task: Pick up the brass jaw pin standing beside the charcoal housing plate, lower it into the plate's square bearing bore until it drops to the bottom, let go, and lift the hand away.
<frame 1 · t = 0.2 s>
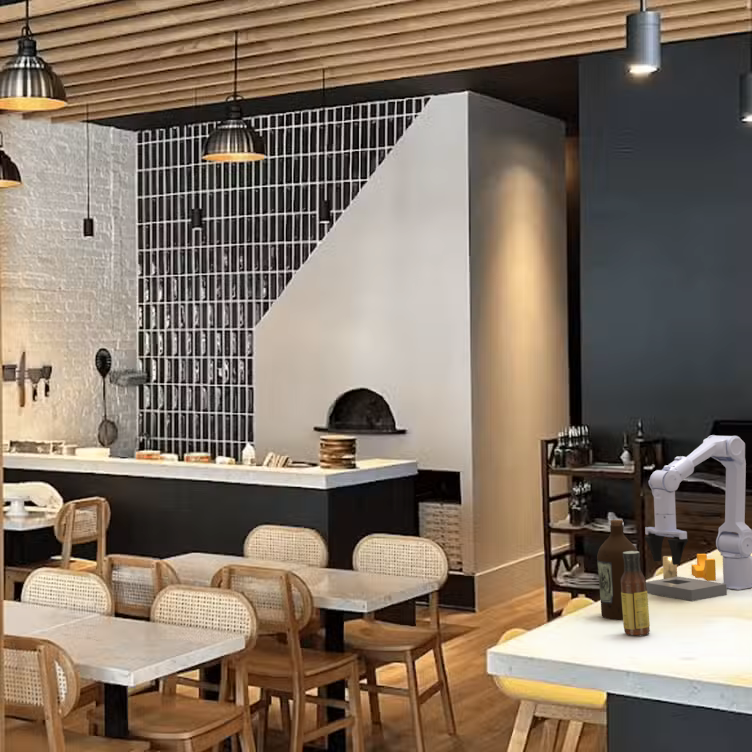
hand: (666, 562, 346), 10 cm above the counter, tool pointing down, fingers open, 7 cm apart
housing: (684, 593, 353), on the counter
olive oil: (619, 617, 324), on the counter
sauce bottle: (636, 634, 302), on the counter
jaw pin: (670, 583, 369), on the counter
pipe clamp: (703, 578, 378), on the counter
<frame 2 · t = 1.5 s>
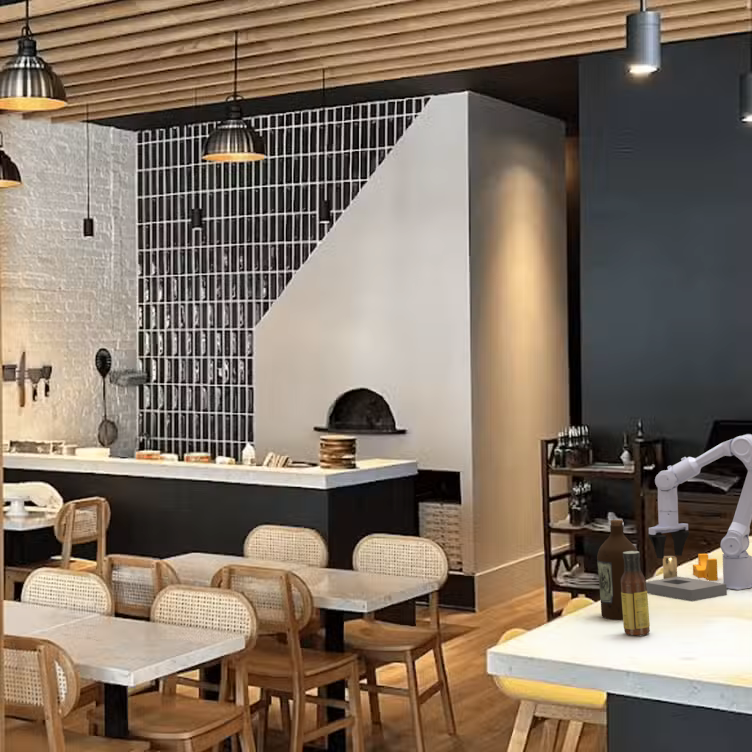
hand: (669, 556, 369), 8 cm above the counter, tool pointing down, fingers open, 7 cm apart
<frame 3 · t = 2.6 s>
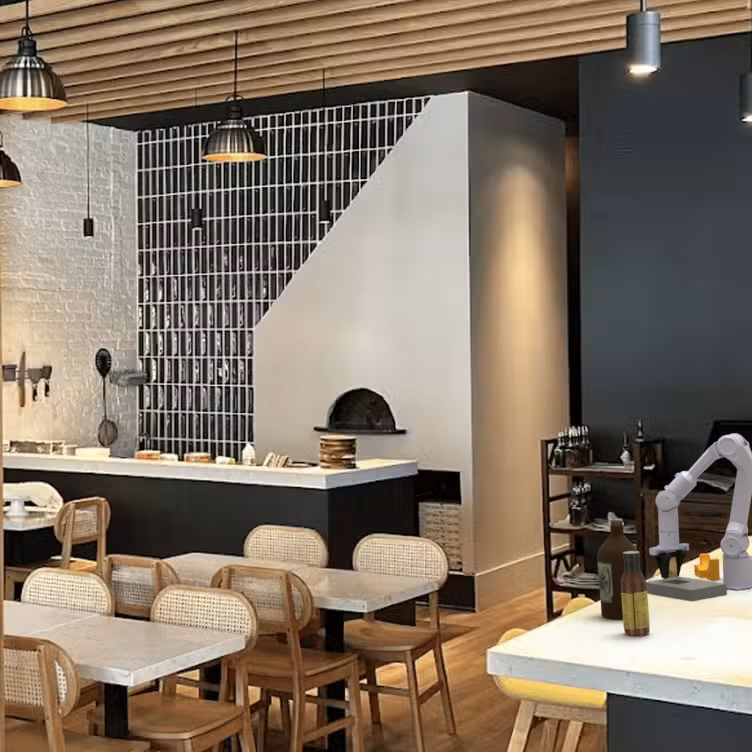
hand: (670, 577, 369), 2 cm above the counter, tool pointing down, fingers closed on jaw pin, 4 cm apart
jaw pin: (670, 583, 369), on the counter, touching gripper
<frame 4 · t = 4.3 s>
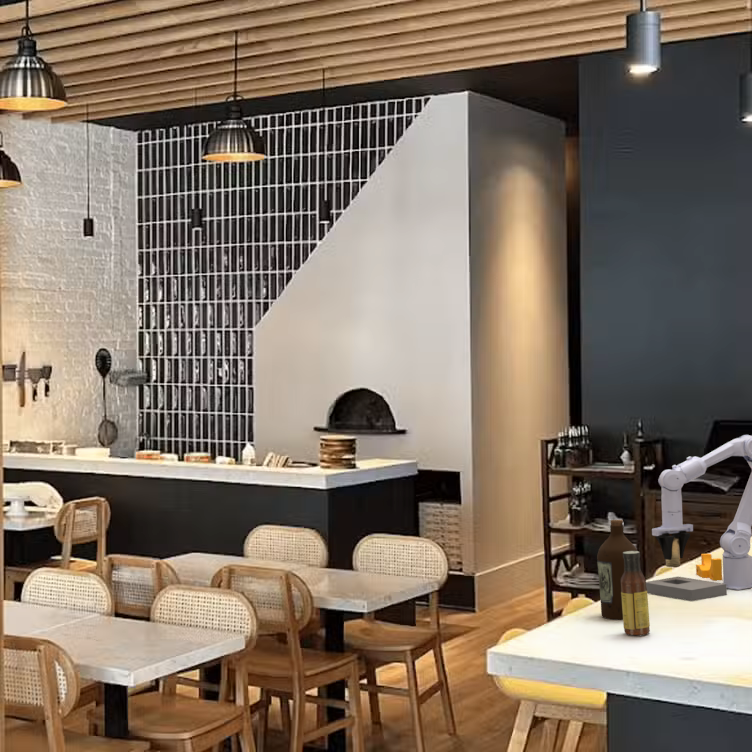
hand: (673, 558, 360), 9 cm above the counter, tool pointing down, fingers closed on jaw pin, 4 cm apart
jaw pin: (673, 566, 360), point 7 cm above the counter, touching gripper
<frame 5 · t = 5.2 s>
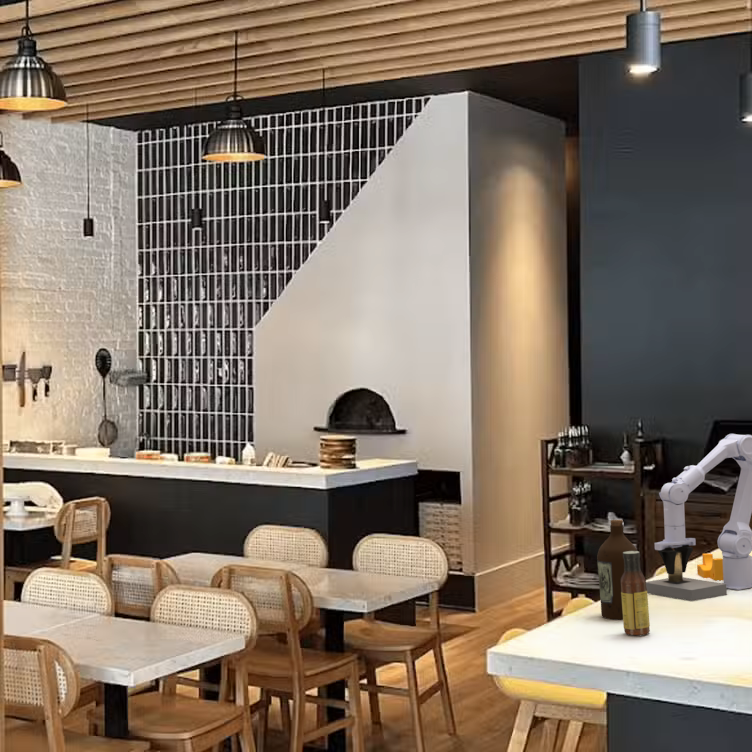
hand: (676, 573, 355), 5 cm above the counter, tool pointing down, fingers closed on jaw pin, 4 cm apart
jaw pin: (675, 580, 355), point 3 cm above the counter, touching gripper
when the fingers open (4 cm above the counter, at t = 5.9 s): jaw pin drops 2 cm, resting in housing.
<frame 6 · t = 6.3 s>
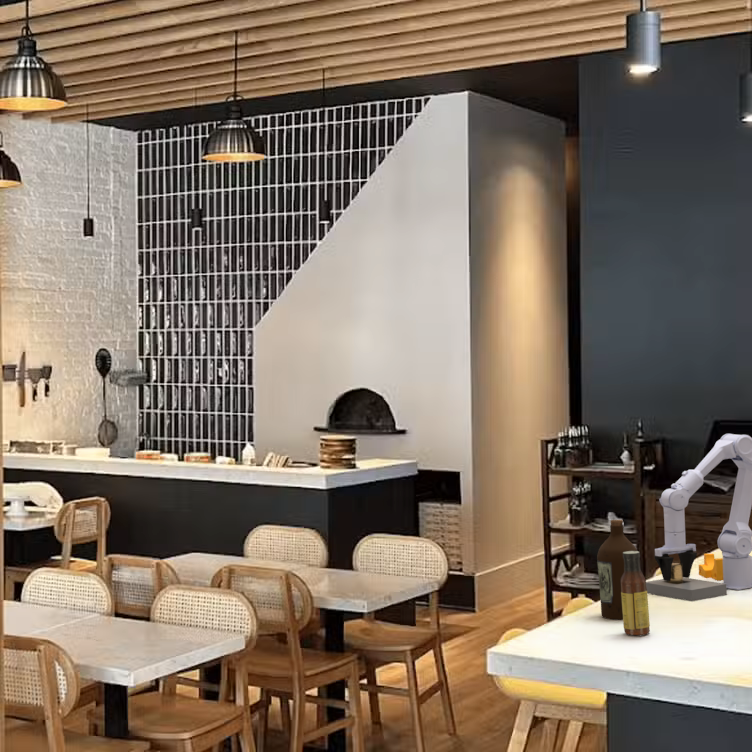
hand: (676, 578, 355), 4 cm above the counter, tool pointing down, fingers open, 7 cm apart
jaw pin: (676, 592, 355), resting in housing
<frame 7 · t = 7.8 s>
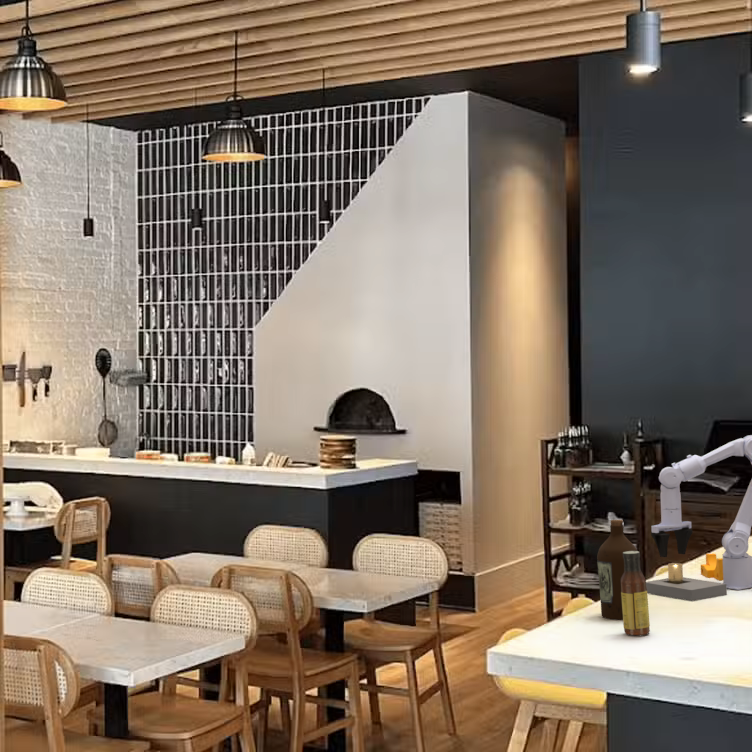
hand: (672, 555, 363), 9 cm above the counter, tool pointing down, fingers open, 7 cm apart
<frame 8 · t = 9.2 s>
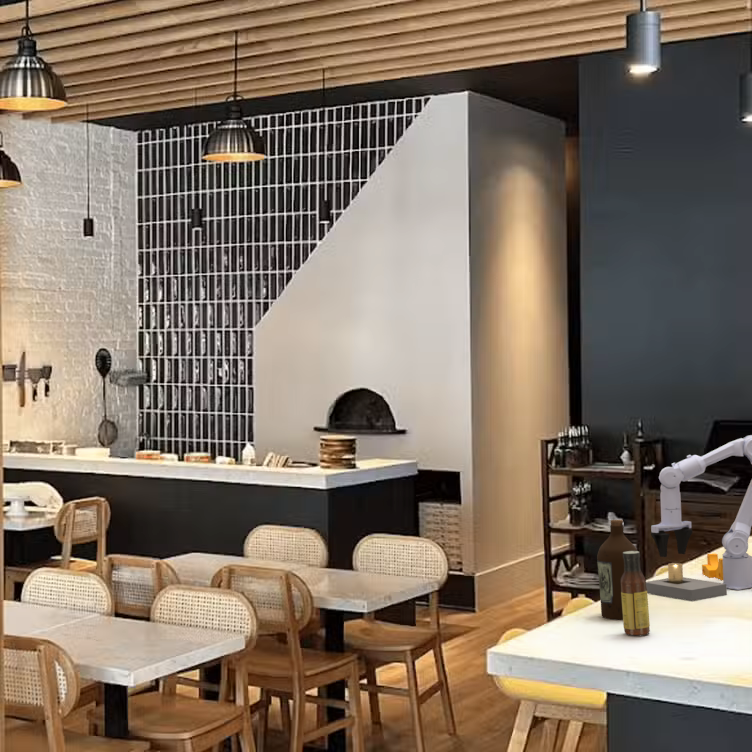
hand: (672, 555, 363), 9 cm above the counter, tool pointing down, fingers open, 7 cm apart
at the end: jaw pin 0.3 cm from the target spot on the housing, point 0.0 cm above the housing's base; jaw pin tilted 0°; the gripper is holding nothing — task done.
